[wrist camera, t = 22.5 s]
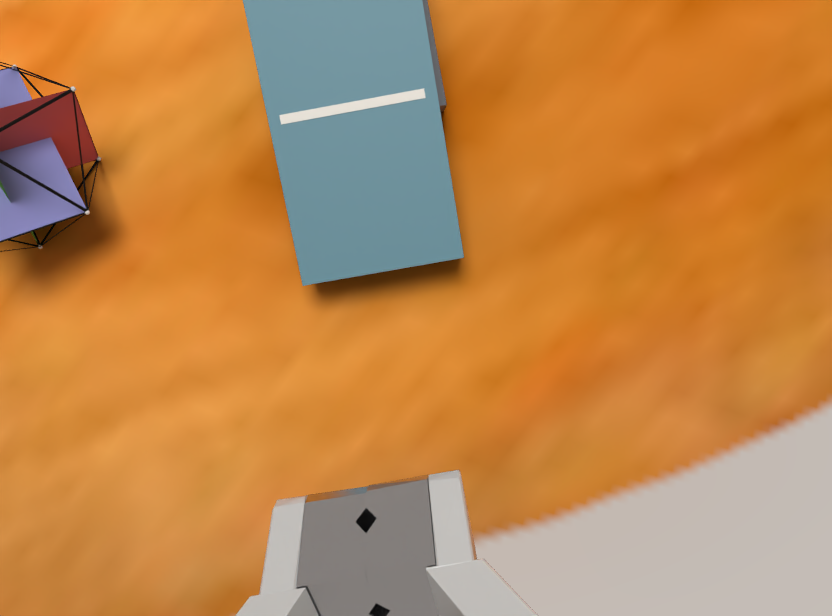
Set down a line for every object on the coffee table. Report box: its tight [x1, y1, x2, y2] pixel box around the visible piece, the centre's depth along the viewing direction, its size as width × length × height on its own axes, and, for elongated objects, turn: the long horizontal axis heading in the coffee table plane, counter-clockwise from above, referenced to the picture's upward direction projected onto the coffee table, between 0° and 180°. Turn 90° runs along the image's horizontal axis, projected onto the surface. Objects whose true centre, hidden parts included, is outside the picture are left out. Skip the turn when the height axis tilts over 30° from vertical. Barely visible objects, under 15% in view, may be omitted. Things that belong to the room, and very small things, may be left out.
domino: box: [243, 0, 464, 286], centre depth 22 cm, size 2×6×11 cm
